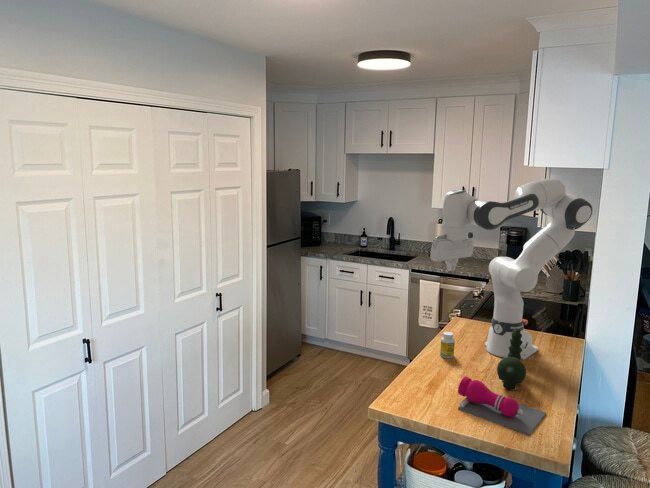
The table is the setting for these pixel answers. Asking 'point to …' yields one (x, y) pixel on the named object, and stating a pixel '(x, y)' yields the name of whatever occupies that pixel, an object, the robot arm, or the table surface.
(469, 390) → the magenta bowling pin
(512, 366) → the toy figurine
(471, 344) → the table surface
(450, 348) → the supplement bottle
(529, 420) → the grey rectangular board
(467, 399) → the grey stop strip
